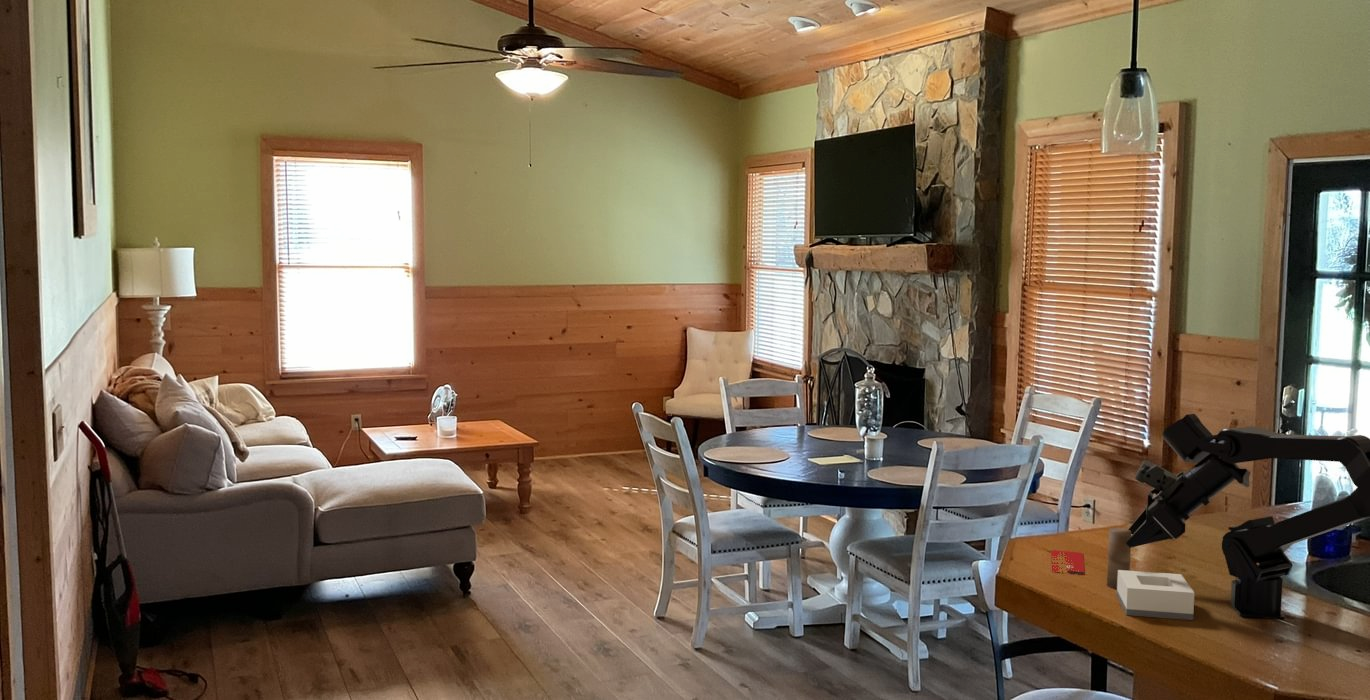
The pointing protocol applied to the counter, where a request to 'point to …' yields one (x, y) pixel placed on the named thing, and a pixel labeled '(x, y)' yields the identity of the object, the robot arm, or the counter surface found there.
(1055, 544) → the counter surface
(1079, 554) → the electronic device
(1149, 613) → the bore block
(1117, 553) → the walnut pin
